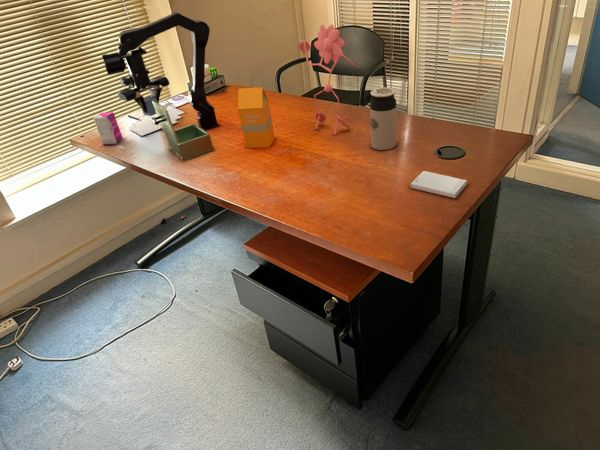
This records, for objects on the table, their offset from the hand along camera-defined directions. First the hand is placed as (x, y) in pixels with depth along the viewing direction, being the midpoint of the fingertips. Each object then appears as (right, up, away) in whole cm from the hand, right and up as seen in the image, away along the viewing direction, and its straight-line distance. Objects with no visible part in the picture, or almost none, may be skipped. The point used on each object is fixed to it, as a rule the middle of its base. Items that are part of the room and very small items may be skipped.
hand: (151, 110), depth 166 cm
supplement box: (-19, -10, +11) cm, 24 cm away
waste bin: (+16, -16, -5) cm, 23 cm away
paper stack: (-6, +2, +25) cm, 26 cm away
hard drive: (+94, -33, -46) cm, 110 cm away
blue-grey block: (0, -1, +1) cm, 1 cm away
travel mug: (+84, -17, -22) cm, 88 cm away
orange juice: (+42, -14, -8) cm, 45 cm away
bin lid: (+10, -7, -14) cm, 19 cm away
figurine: (+70, -7, -3) cm, 70 cm away
